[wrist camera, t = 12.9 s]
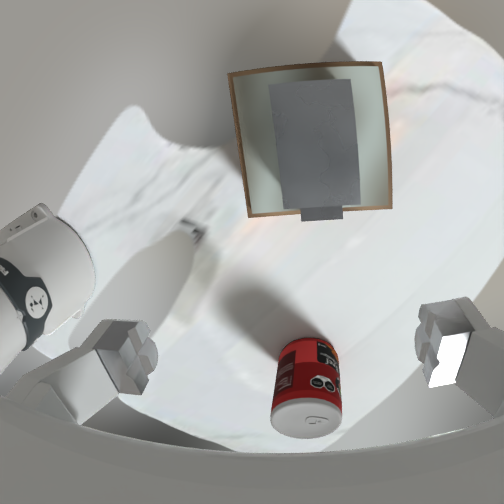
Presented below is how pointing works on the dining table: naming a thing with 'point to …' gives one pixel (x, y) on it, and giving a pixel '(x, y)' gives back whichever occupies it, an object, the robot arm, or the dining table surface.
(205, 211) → the dining table surface
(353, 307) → the dining table surface
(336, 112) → the block
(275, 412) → the canned food
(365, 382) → the dining table surface
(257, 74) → the stand
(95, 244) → the dining table surface
